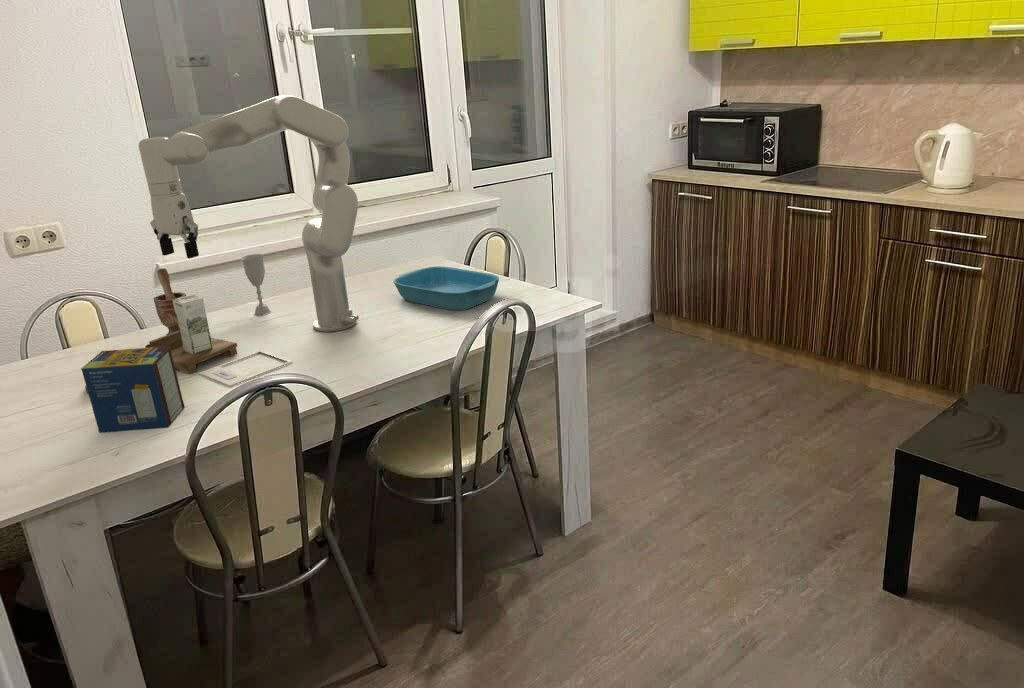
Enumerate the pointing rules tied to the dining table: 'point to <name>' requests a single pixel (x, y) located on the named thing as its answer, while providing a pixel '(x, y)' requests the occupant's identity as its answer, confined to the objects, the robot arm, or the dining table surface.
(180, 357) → the shelf
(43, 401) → the dining table surface
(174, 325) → the mortar and pestle
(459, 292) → the casserole dish
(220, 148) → the robot arm
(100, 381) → the protein box
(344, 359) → the dining table surface
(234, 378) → the photo frame
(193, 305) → the syrup box
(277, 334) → the dining table surface
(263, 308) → the chalice
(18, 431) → the dining table surface
